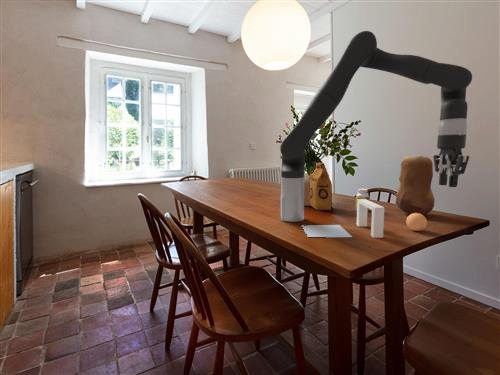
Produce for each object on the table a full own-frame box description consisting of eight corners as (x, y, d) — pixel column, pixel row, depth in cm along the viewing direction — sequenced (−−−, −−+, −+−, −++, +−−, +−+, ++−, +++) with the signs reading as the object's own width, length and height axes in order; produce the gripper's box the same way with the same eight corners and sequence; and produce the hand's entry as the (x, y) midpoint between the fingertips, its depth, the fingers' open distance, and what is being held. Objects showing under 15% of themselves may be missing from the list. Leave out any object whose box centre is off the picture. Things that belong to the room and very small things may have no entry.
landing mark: (308, 237, 88) (308, 237, 88) (301, 225, 102) (301, 225, 102) (352, 237, 88) (352, 236, 88) (339, 225, 102) (339, 225, 102)
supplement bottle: (367, 211, 123) (368, 190, 122) (354, 210, 126) (355, 189, 125) (369, 209, 128) (370, 188, 127) (356, 208, 131) (357, 188, 129)
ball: (411, 233, 91) (413, 215, 90) (402, 228, 97) (403, 211, 96) (430, 232, 91) (431, 215, 90) (419, 227, 97) (420, 211, 96)
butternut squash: (430, 212, 120) (434, 154, 116) (436, 219, 108) (440, 155, 104) (394, 210, 125) (397, 155, 122) (396, 216, 113) (399, 155, 110)
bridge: (373, 237, 87) (374, 207, 86) (356, 225, 102) (357, 199, 101) (383, 237, 87) (384, 207, 86) (364, 224, 102) (365, 199, 101)
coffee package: (312, 210, 127) (313, 163, 124) (306, 205, 140) (307, 162, 137) (334, 210, 127) (335, 162, 124) (326, 205, 140) (327, 161, 137)
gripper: (426, 135, 97) (423, 183, 99) (455, 132, 83) (451, 189, 85) (448, 135, 97) (444, 183, 99) (481, 132, 82) (476, 188, 85)
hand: (447, 185), depth 92 cm, fingers open, 4 cm apart
